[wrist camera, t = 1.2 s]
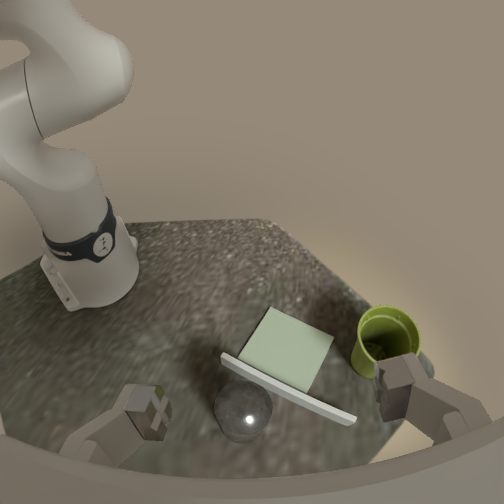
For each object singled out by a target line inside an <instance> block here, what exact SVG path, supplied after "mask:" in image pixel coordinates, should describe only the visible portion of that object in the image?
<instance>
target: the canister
mask: <svg viewBox="0 0 504 504" xmlns="http://www.w3.org/2000/svg"><path fill="white" fill-rule="evenodd" d="M272 409H273V406H272V400H271V398H270V396H269V394H268V393H267V391H266V390H265V389H264V388H263V387H261V386H260V385H258V384H256V383H254V382H251V381H236V382H232V383H230V384H228V385H226V386H225V387H224V388H223V389H222V390H221V391H220V392H219V393H218V395H217V397H216V399H215V404H214V411H215V415H216V418H217V420H218V421H219V423H220V425H221V428H222V431H223V433H224V434H225V436H226V437H227V438H228V439H230V440H231V441H233V442H236V443H249V442H252V441H254V440H255V439H257V438H258V437H259V436H260V434H261V433H262V431H263V429H264V427H265V425H266V424H267V423H268V421H269V419H270V417H271V415H272Z"/></svg>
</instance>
